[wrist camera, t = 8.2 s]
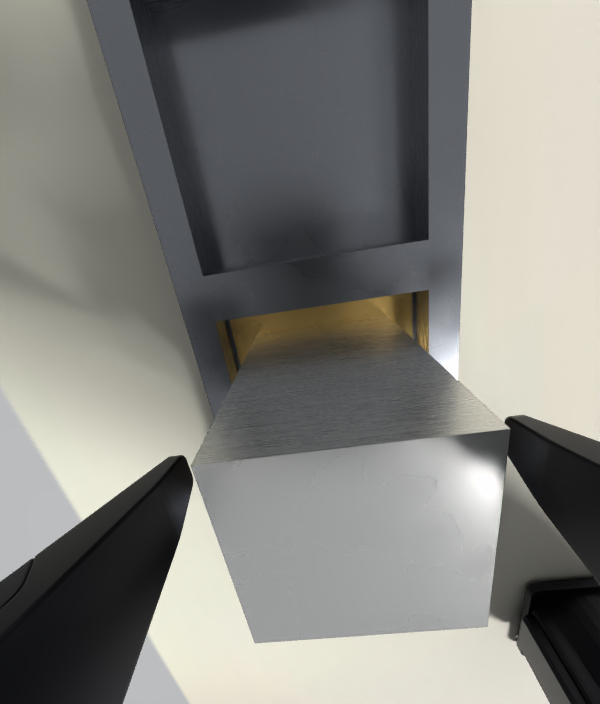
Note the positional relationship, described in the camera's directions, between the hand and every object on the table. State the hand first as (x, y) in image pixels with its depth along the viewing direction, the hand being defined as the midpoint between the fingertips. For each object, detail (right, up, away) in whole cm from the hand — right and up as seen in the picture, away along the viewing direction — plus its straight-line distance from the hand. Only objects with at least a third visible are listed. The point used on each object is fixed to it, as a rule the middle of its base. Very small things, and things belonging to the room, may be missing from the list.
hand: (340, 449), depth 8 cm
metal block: (0, +1, +4) cm, 4 cm away
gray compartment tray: (0, +2, +4) cm, 5 cm away
